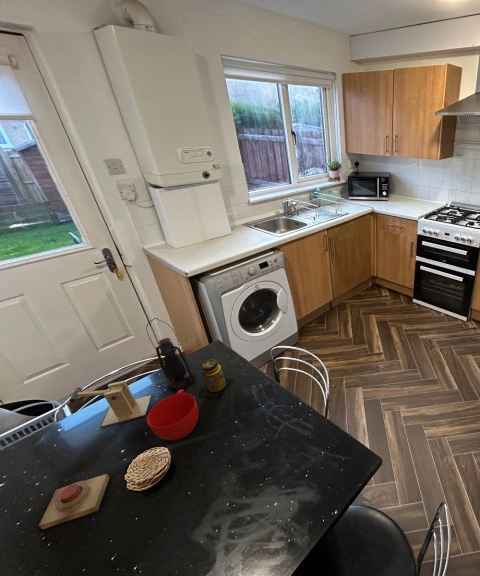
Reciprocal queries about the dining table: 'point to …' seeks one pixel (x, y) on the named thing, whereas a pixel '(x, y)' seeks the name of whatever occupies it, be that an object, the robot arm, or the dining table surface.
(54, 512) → the button block
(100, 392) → the lever
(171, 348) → the lantern
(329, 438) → the dining table surface
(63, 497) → the button
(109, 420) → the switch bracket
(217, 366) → the condiment
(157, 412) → the ceramic cup
